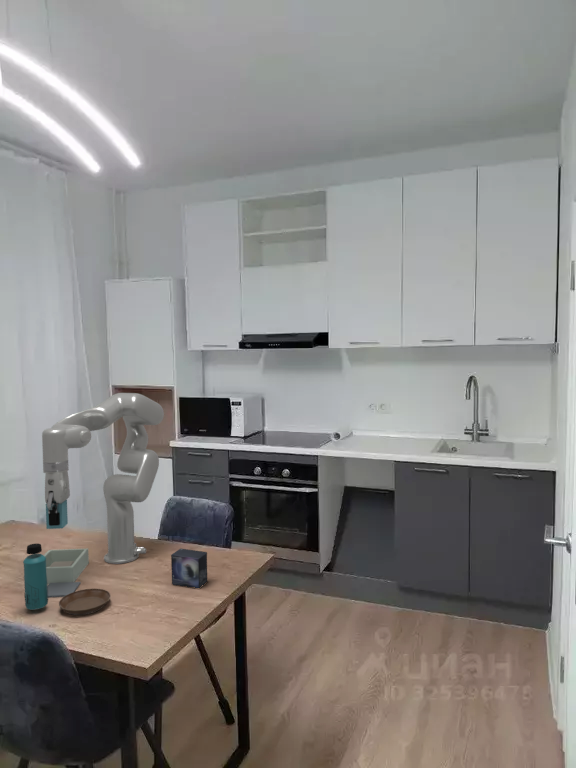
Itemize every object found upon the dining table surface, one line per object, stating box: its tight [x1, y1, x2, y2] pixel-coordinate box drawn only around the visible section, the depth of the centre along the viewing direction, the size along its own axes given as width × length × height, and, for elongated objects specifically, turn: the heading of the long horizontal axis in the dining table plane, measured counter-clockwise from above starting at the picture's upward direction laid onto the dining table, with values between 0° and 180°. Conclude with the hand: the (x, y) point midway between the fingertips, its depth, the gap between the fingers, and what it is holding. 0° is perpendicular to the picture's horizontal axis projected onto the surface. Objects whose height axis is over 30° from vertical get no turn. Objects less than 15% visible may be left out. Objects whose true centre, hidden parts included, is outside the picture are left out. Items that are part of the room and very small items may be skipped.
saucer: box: [58, 588, 111, 616], centre depth 170 cm, size 15×15×3 cm
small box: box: [170, 548, 208, 589], centre depth 186 cm, size 11×6×10 cm, turn 70°
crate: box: [43, 548, 90, 585], centre depth 195 cm, size 14×18×6 cm
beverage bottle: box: [22, 542, 49, 611], centre depth 167 cm, size 6×7×20 cm
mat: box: [47, 581, 82, 599], centre depth 181 cm, size 10×10×1 cm
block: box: [45, 499, 69, 530], centre depth 180 cm, size 5×5×8 cm
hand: (57, 521), depth 180 cm, fingers closed on block, 5 cm apart
